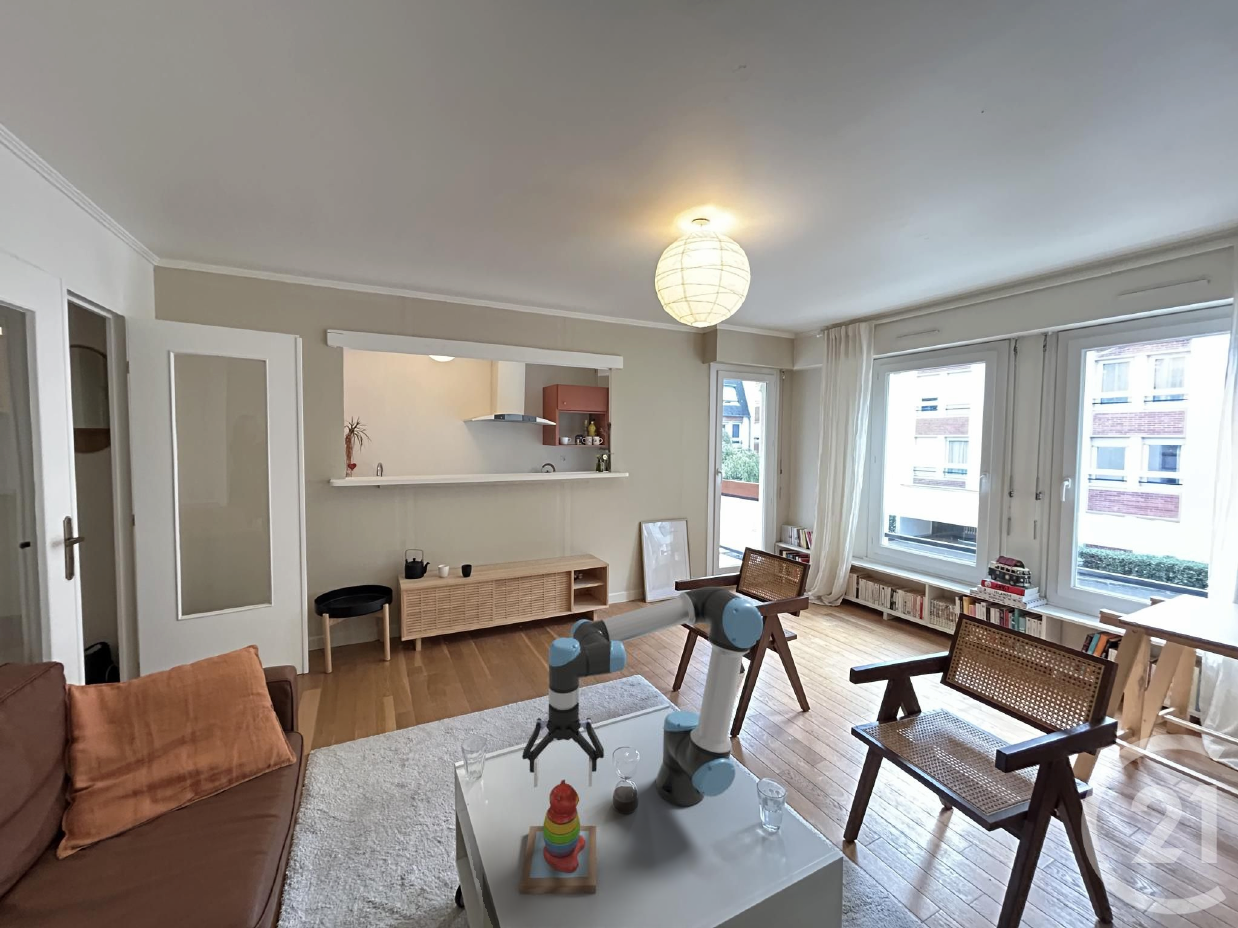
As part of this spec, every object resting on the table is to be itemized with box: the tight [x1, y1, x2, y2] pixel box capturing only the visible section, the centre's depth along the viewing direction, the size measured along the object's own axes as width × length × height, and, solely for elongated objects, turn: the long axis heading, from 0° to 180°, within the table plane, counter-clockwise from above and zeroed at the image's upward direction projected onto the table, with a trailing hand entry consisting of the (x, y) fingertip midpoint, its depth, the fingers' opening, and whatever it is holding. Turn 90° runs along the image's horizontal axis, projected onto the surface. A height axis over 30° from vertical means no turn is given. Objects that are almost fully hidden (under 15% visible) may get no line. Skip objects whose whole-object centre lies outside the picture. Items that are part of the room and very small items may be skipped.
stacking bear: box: [542, 779, 585, 873], centre depth 129 cm, size 11×10×18 cm
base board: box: [519, 825, 597, 895], centre depth 130 cm, size 18×18×2 cm
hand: (563, 782), depth 128 cm, fingers open, 13 cm apart
